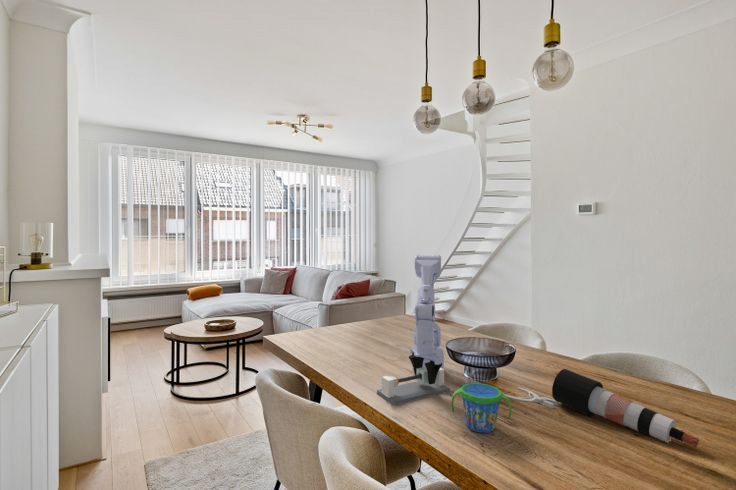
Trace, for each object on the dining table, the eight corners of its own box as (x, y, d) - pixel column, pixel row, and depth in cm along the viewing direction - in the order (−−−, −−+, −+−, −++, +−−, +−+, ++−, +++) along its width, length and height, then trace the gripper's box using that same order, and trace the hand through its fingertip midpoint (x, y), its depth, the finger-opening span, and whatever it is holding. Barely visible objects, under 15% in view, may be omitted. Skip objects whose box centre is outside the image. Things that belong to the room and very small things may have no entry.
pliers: (518, 384, 134) (563, 398, 123) (518, 389, 134) (563, 403, 123) (502, 391, 128) (548, 407, 116) (502, 396, 128) (548, 412, 116)
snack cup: (512, 423, 109) (512, 387, 109) (510, 442, 99) (511, 402, 99) (454, 414, 114) (454, 379, 114) (447, 431, 105) (448, 392, 104)
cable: (689, 472, 94) (688, 442, 91) (554, 407, 121) (549, 382, 118) (705, 442, 99) (704, 413, 95) (571, 386, 126) (567, 362, 122)
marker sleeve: (426, 378, 135) (426, 366, 135) (433, 382, 132) (433, 370, 131) (416, 380, 133) (416, 368, 133) (423, 384, 130) (423, 372, 130)
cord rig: (431, 381, 140) (431, 363, 140) (449, 391, 131) (450, 372, 131) (377, 393, 129) (377, 373, 129) (393, 405, 121) (393, 384, 120)
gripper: (402, 336, 136) (402, 375, 137) (428, 346, 124) (428, 389, 124) (419, 333, 140) (419, 371, 140) (446, 343, 127) (446, 385, 127)
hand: (424, 379), depth 132 cm, fingers open, 7 cm apart
